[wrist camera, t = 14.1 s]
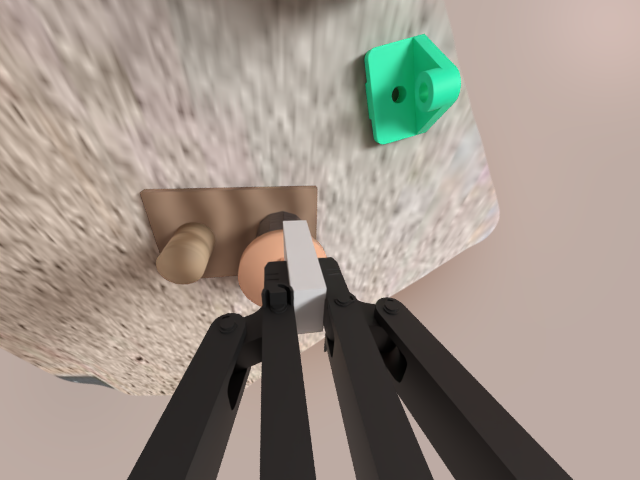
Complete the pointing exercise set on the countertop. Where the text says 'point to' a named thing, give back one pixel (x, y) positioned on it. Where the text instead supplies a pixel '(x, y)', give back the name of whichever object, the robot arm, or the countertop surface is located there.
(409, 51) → the camera mount
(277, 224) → the tube
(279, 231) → the domed pot lid
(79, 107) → the countertop surface
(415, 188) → the countertop surface
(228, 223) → the brown board with post
